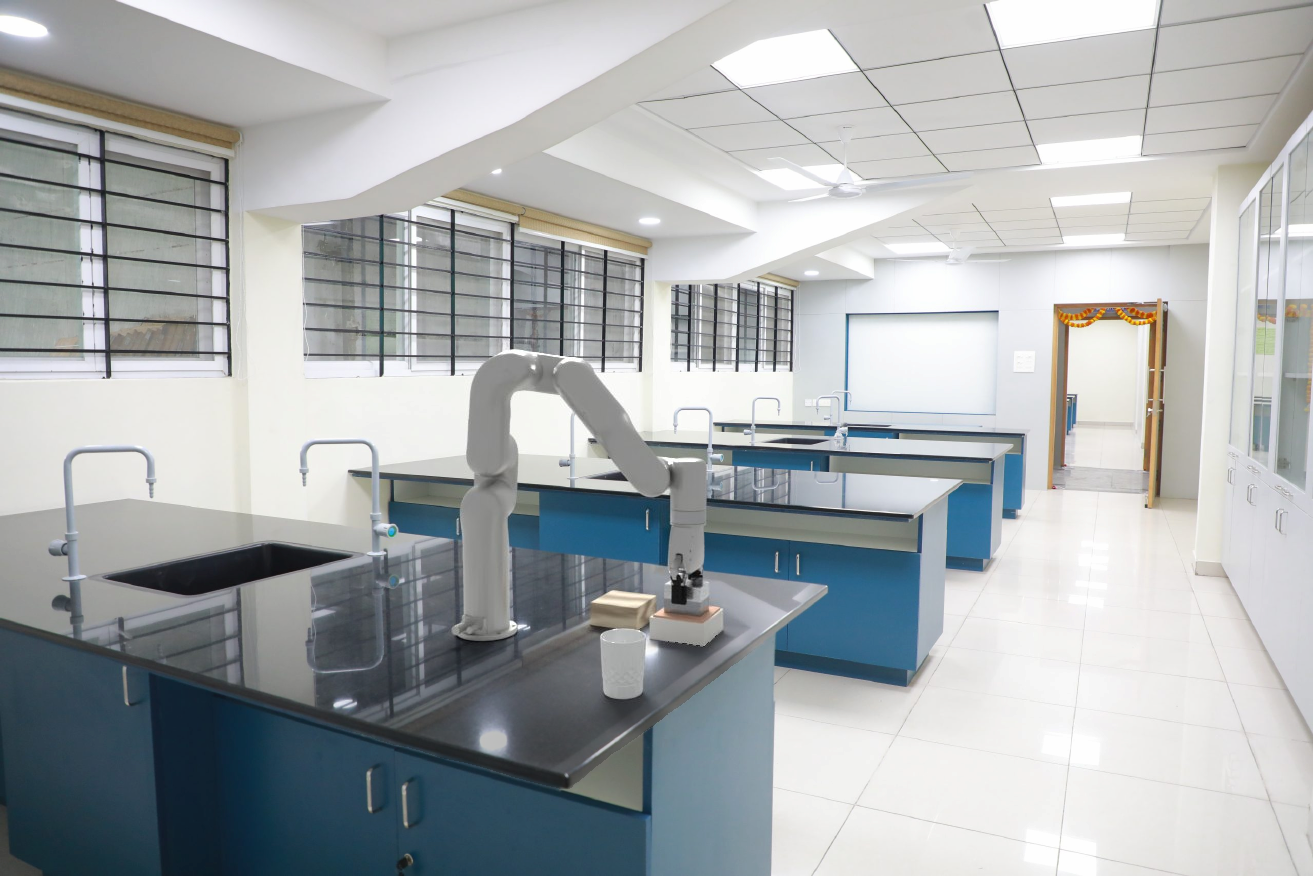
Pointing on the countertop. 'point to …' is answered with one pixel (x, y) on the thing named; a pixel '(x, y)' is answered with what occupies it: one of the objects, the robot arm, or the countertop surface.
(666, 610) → the housing
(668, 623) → the stand
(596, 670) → the countertop surface
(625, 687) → the white cup
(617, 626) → the stand
